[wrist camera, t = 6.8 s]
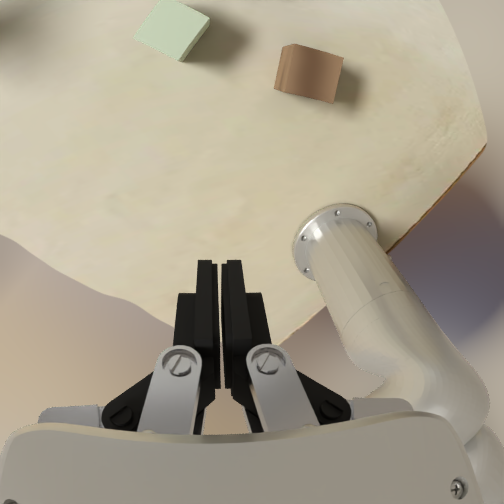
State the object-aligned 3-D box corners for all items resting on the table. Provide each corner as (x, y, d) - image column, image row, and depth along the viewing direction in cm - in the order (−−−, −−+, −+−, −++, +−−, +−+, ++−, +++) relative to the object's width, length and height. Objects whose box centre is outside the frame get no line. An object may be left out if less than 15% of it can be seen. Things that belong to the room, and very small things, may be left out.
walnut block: (325, 58, 28) (343, 57, 24) (316, 97, 30) (332, 103, 26) (282, 47, 27) (294, 43, 22) (273, 88, 29) (284, 92, 25)
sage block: (209, 25, 24) (209, 17, 20) (182, 62, 26) (177, 61, 22) (170, 5, 22) (163, -5, 18) (143, 42, 24) (132, 38, 20)
